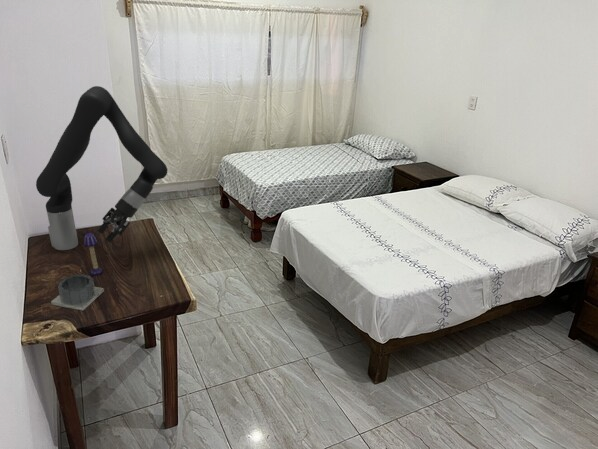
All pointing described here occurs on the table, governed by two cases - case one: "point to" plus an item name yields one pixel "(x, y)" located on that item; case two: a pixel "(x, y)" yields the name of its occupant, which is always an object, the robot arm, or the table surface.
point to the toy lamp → (92, 252)
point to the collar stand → (77, 292)
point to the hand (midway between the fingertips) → (103, 236)
